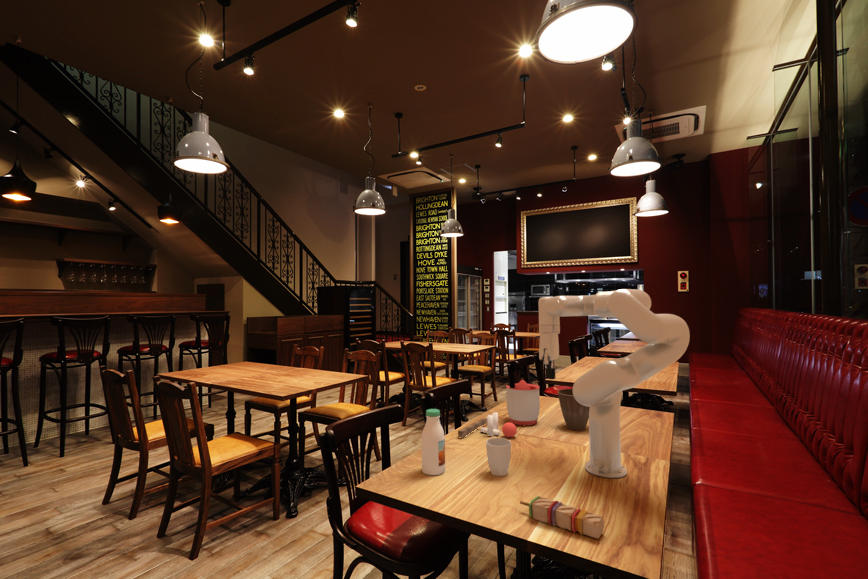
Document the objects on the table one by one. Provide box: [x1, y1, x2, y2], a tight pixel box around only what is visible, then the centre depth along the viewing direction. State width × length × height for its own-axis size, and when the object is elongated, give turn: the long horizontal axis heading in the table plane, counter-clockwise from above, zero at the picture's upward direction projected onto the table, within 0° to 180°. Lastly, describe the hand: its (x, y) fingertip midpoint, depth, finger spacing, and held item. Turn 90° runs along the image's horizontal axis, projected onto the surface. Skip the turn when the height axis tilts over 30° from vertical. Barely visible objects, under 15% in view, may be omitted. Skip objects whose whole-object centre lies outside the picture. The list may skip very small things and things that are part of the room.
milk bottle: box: [421, 408, 446, 476], centre depth 135 cm, size 8×8×20 cm
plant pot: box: [557, 388, 590, 432], centre depth 181 cm, size 15×15×16 cm
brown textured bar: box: [457, 417, 487, 439], centre depth 178 cm, size 24×2×3 cm, turn 147°
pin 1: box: [486, 414, 494, 437], centre depth 171 cm, size 2×2×8 cm
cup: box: [485, 437, 512, 477], centre depth 133 cm, size 8×8×10 cm
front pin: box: [479, 427, 501, 436], centre depth 174 cm, size 2×2×8 cm
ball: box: [501, 421, 518, 438], centre depth 170 cm, size 6×6×6 cm
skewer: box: [519, 495, 605, 539], centre depth 102 cm, size 21×6×5 cm, turn 51°
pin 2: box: [491, 411, 499, 430], centre depth 176 cm, size 2×2×8 cm
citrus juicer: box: [505, 379, 541, 426], centre depth 192 cm, size 16×17×20 cm
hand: (550, 378), depth 153 cm, fingers closed
